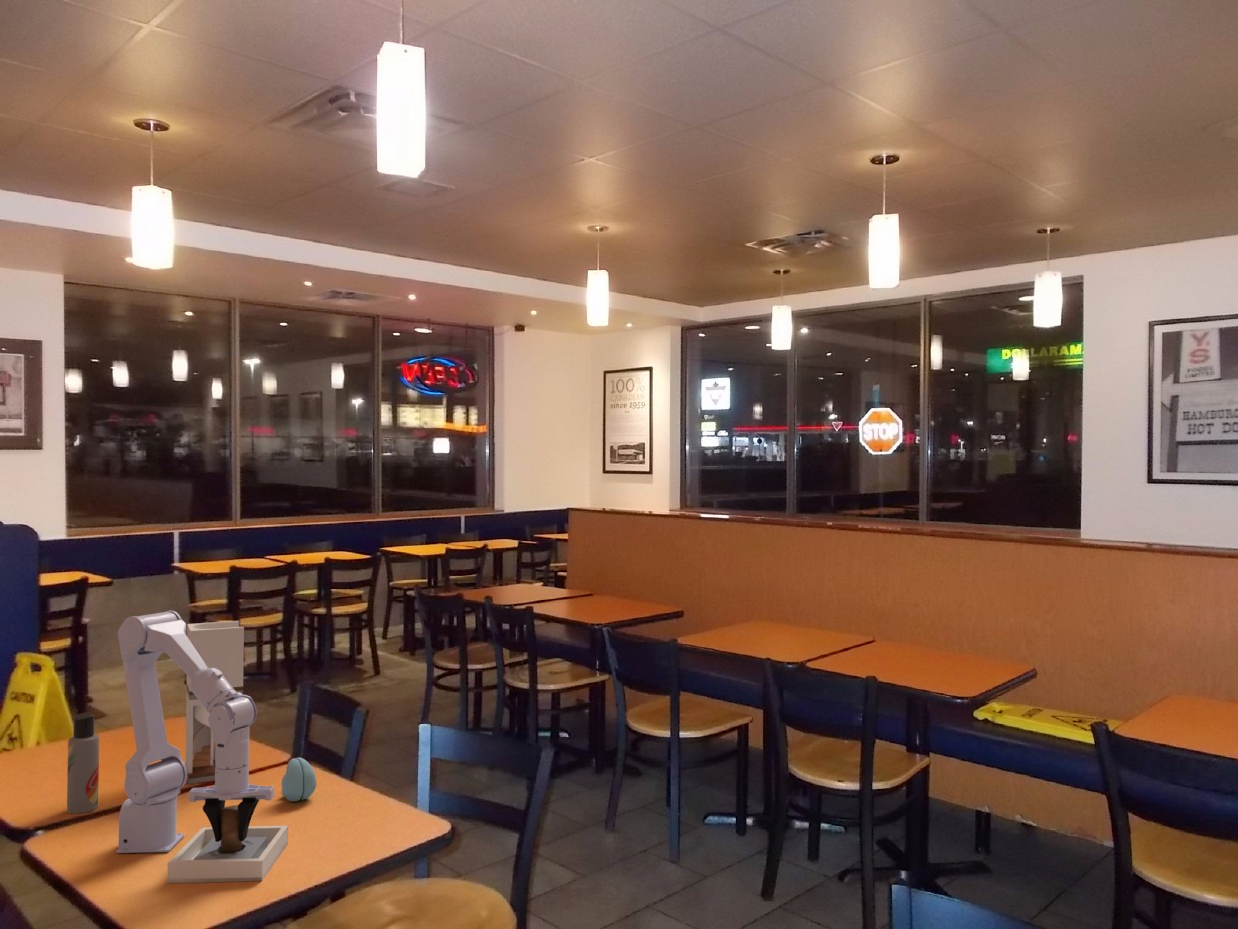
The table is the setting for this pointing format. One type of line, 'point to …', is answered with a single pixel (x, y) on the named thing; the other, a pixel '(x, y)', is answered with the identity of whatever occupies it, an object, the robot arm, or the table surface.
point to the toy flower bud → (298, 780)
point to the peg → (230, 830)
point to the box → (228, 857)
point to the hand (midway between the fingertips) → (231, 839)
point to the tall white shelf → (217, 650)
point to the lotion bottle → (83, 766)
